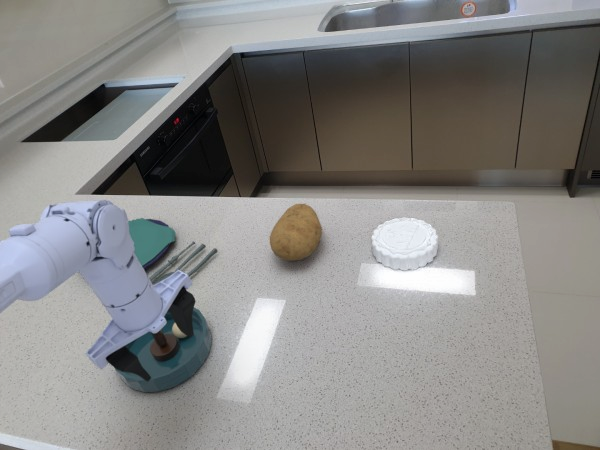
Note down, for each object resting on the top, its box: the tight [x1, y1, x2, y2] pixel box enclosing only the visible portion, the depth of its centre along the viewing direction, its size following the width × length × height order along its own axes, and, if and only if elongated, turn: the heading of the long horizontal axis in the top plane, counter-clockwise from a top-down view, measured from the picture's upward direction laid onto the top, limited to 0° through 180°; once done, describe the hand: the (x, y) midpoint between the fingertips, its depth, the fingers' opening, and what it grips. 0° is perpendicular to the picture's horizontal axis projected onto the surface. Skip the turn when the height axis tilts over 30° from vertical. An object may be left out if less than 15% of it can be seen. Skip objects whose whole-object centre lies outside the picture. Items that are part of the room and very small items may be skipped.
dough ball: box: [172, 323, 187, 338], centre depth 76 cm, size 3×3×3 cm
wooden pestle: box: [150, 330, 179, 361], centre depth 73 cm, size 4×4×9 cm
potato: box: [269, 203, 323, 262], centre depth 88 cm, size 10×14×8 cm
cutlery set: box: [128, 217, 218, 285], centre depth 96 cm, size 20×30×2 cm, turn 56°
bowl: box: [114, 306, 213, 393], centre depth 74 cm, size 15×15×4 cm
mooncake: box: [370, 216, 439, 272], centre depth 85 cm, size 12×12×4 cm
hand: (166, 354), depth 61 cm, fingers open, 7 cm apart
